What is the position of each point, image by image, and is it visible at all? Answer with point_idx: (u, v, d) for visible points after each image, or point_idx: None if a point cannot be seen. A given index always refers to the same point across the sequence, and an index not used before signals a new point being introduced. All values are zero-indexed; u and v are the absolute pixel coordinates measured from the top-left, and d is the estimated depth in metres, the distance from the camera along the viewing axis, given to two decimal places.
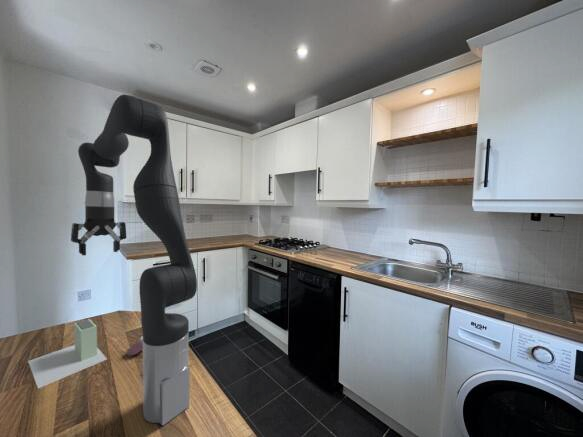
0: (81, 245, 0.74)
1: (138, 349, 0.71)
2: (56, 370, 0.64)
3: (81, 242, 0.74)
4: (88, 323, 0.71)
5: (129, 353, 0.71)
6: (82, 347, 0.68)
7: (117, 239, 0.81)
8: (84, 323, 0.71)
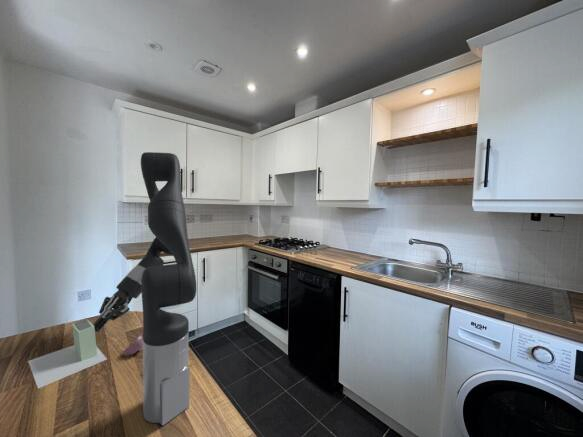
0: None
1: (135, 349, 0.71)
2: (56, 370, 0.64)
3: (100, 314, 0.75)
4: (86, 323, 0.71)
5: (126, 353, 0.71)
6: (81, 347, 0.67)
7: (103, 315, 0.74)
8: (82, 323, 0.70)
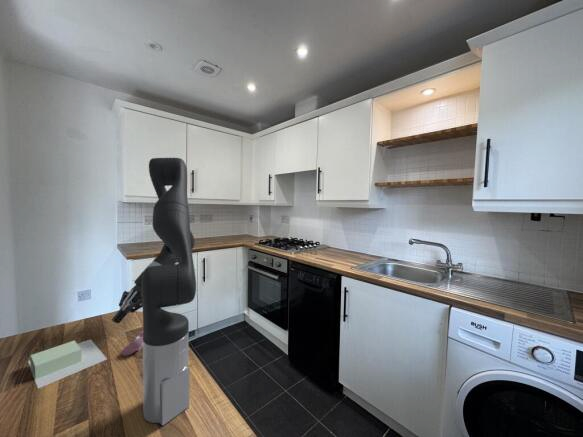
0: None
1: (133, 349, 0.71)
2: None
3: (120, 307, 0.80)
4: (32, 364, 0.62)
5: (125, 353, 0.71)
6: (62, 368, 0.64)
7: (123, 308, 0.79)
8: (31, 366, 0.62)
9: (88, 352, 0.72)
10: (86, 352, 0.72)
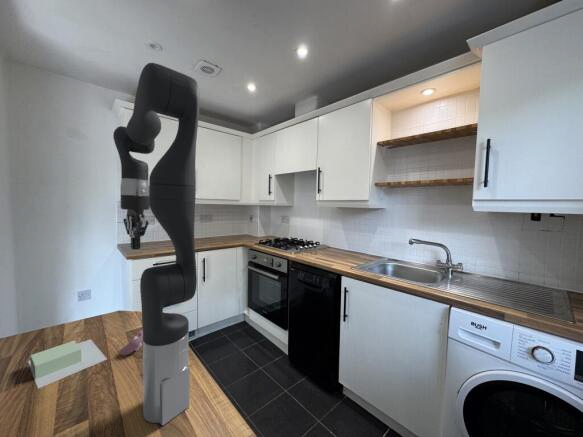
0: None
1: (132, 349, 0.71)
2: None
3: None
4: (32, 364, 0.62)
5: (122, 353, 0.71)
6: (62, 368, 0.64)
7: (132, 235, 0.72)
8: (31, 366, 0.62)
9: (88, 352, 0.72)
10: (86, 352, 0.72)
